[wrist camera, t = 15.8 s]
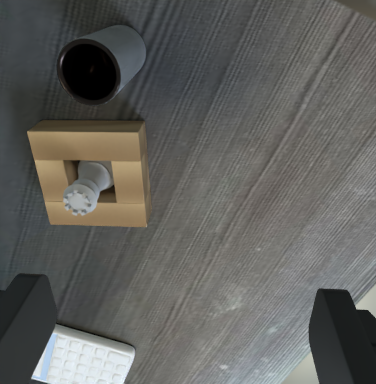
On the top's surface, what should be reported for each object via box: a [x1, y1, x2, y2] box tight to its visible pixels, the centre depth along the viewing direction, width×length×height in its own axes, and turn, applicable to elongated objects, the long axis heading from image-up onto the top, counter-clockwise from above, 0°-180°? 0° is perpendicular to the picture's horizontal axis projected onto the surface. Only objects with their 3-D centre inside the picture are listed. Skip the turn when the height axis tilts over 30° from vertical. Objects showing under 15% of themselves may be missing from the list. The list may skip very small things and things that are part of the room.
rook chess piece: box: [63, 160, 114, 216], centre depth 36 cm, size 4×4×8 cm
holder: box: [27, 120, 152, 227], centre depth 38 cm, size 11×11×4 cm
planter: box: [57, 25, 146, 106], centre depth 29 cm, size 4×4×10 cm
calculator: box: [31, 324, 135, 384], centre depth 56 cm, size 13×20×2 cm, turn 71°
